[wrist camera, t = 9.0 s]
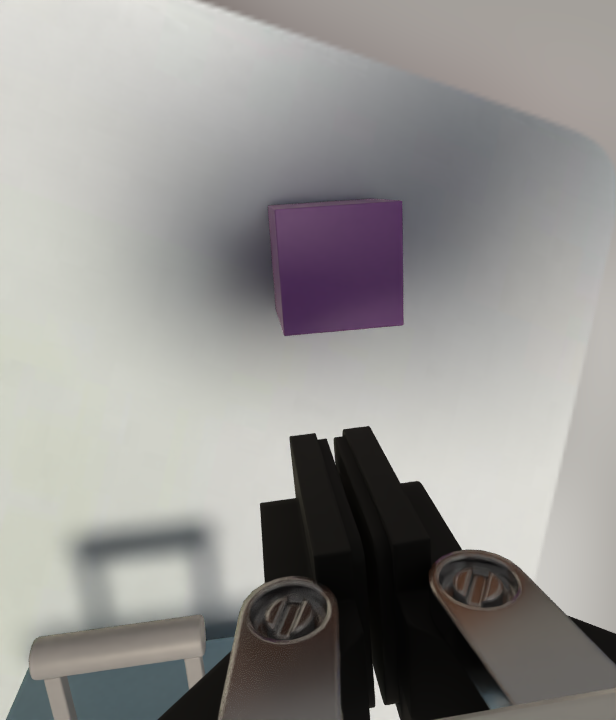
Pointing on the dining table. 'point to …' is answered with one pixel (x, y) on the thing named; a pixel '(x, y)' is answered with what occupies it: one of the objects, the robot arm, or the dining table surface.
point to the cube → (337, 265)
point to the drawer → (116, 671)
